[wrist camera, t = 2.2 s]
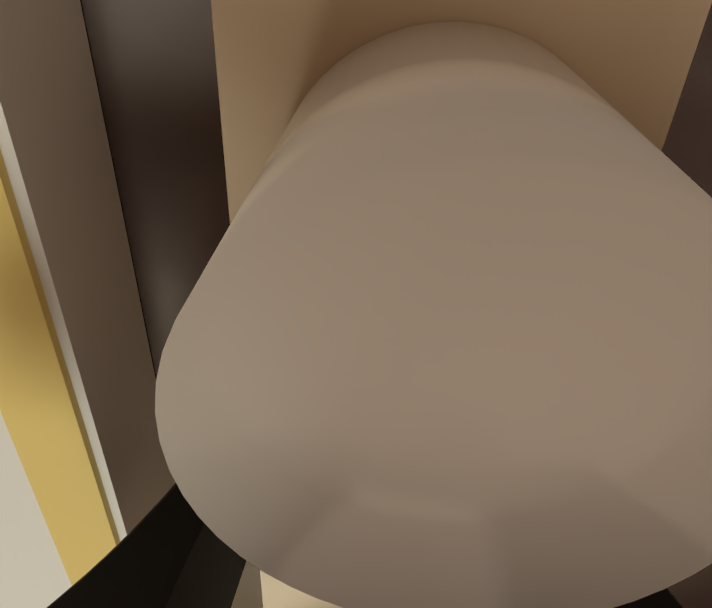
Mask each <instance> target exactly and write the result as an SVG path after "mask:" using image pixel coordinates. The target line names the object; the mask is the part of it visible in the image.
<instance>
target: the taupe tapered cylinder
mask: <svg viewBox="0 0 712 608" xmlns="http://www.w3.org/2000/svg"><path fill="white" fill-rule="evenodd" d="M155 416H156V423H157V429H158V435H159V441H160V445H161V448H162V451H163V454H164V456H165V459H166V462H167V465H168V468H169V470H170V472H171V474H172V476H173V478H174V480H175V482H176V484H177V486H178V487H179V489H180V491H181V493H182V495H183V496H184V497H185V499H186V500H187V502H188V503H189V504H190V506H191V507H192V509H193V510H194V511H195V513H196V514H197V515H198V517H199V518H200V519H201V520H202V521H203V522H204V523H205V524H206V525H207V526H208V527H209V528H210V530H211V531H212V532H213V533H214V534H215V535H216V536H217V537H218V538H219V539H220V540H222V541H223V542H224V543H225V544H226V545H227V546H229V547H230V548H231V549H232V550H233V551H235V552H236V553H237V554H238V555H239V556H241V557H242V558H244V559H245V560H247V561H248V562H249V563H251V564H252V565H254V566H255V567H257V568H258V569H260V570H261V571H263V572H264V573H266V574H268V575H270V576H272V577H273V578H275V579H277V580H279V581H281V582H282V583H284V584H286V585H288V586H290V587H292V588H294V589H296V590H299V591H301V592H303V593H306V594H308V595H310V596H312V597H315V598H317V599H320V600H322V601H325V602H328V603H331V604H334V605H337V606H340V607H343V608H614V607H617V606H620V605H624V604H627V603H630V602H633V601H636V600H638V599H641V598H643V597H646V596H648V595H651V594H653V593H656V592H658V591H661V590H663V589H666V588H668V587H670V586H672V585H674V584H676V583H678V582H680V581H682V580H684V579H686V578H688V577H690V576H692V575H694V574H695V573H697V572H699V571H700V570H702V569H703V568H705V567H707V566H708V565H710V564H711V563H712V198H711V197H710V196H709V195H708V194H707V193H706V192H705V191H704V190H703V189H702V188H701V187H699V186H698V185H697V184H696V183H695V182H694V181H693V180H692V179H691V178H690V177H689V176H688V175H686V174H685V173H684V172H683V171H682V170H681V169H680V168H679V167H678V166H677V165H676V164H674V163H673V162H672V161H671V160H670V159H669V158H668V157H667V156H666V155H665V154H664V153H662V152H661V151H660V150H659V149H658V148H657V147H656V146H655V145H654V144H653V143H652V142H651V141H649V140H648V139H647V138H646V137H645V136H644V135H643V134H642V133H641V132H640V131H639V130H637V129H636V128H635V127H634V126H633V125H632V124H631V123H630V122H629V121H628V120H627V119H625V118H624V117H623V116H622V115H621V114H620V113H619V112H618V111H617V110H616V109H615V108H614V107H612V106H611V105H610V104H609V103H608V102H607V101H606V100H605V99H604V98H603V97H602V96H600V95H599V94H598V93H597V92H596V91H595V90H594V89H593V88H592V87H591V86H590V85H588V84H587V83H586V82H585V81H584V80H583V79H582V78H581V77H580V76H579V75H578V74H576V73H575V72H574V71H573V70H572V69H571V68H570V67H569V66H568V65H566V64H565V63H564V62H563V61H562V60H561V59H559V58H558V57H557V56H556V55H555V54H553V53H552V52H551V51H549V50H547V49H546V48H544V47H542V46H541V45H539V44H538V43H536V42H534V41H533V40H531V39H528V38H526V37H524V36H521V35H519V34H516V33H514V32H512V31H509V30H506V29H502V28H498V27H494V26H490V25H486V24H480V23H470V22H460V21H454V22H432V23H427V24H421V25H416V26H411V27H406V28H403V29H400V30H397V31H394V32H391V33H388V34H385V35H382V36H380V37H378V38H376V39H374V40H372V41H370V42H368V43H366V44H364V45H362V46H360V47H358V48H357V49H355V50H354V51H353V52H351V53H350V54H348V55H347V56H345V57H344V58H342V59H341V60H339V61H338V62H337V63H336V64H335V65H334V66H333V67H332V68H330V69H329V70H328V71H327V72H326V73H325V74H324V75H323V76H322V77H321V78H320V79H319V80H318V81H317V82H316V84H315V85H314V86H313V87H312V88H311V90H310V91H309V92H308V93H307V94H306V96H305V97H304V99H303V100H302V102H301V104H300V105H299V107H298V108H297V110H296V112H295V113H294V115H293V117H292V118H291V120H290V122H289V123H288V125H287V127H286V129H285V130H284V132H283V134H282V136H281V137H280V139H279V141H278V143H277V144H276V146H275V148H274V149H273V151H272V153H271V155H270V156H269V158H268V160H267V162H266V163H265V165H264V167H263V169H262V170H261V172H260V174H259V175H258V177H257V179H256V181H255V182H254V184H253V186H252V188H251V189H250V191H249V193H248V195H247V196H246V198H245V200H244V202H243V203H242V205H241V207H240V208H239V210H238V212H237V214H236V215H235V217H234V219H233V221H232V222H231V224H230V226H229V228H228V229H227V231H226V233H225V234H224V236H223V238H222V240H221V241H220V243H219V245H218V247H217V248H216V250H215V252H214V254H213V255H212V257H211V259H210V260H209V262H208V264H207V266H206V267H205V269H204V271H203V273H202V274H201V276H200V278H199V280H198V281H197V283H196V285H195V286H194V288H193V290H192V292H191V293H190V295H189V297H188V299H187V300H186V302H185V304H184V306H183V307H182V309H181V311H180V312H179V314H178V316H177V318H176V319H175V322H174V324H173V327H172V329H171V332H170V334H169V336H168V339H167V341H166V344H165V346H164V349H163V351H162V355H161V360H160V365H159V369H158V374H157V379H156V390H155Z"/></svg>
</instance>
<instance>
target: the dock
mask: <svg viewBox="0 0 712 608" xmlns="http://www.w3.org/2000/svg"><path fill="white" fill-rule="evenodd" d="M155 390H156V378H155V373H154V368H153V363H152V358H151V353H150V348H149V343H148V338H147V333H146V328H145V323H144V318H143V313H142V308H141V303H140V298H139V293H138V288H137V283H136V278H135V273H134V268H133V263H132V258H131V253H130V248H129V243H128V238H127V233H126V228H125V223H124V218H123V213H122V208H121V203H120V198H119V193H118V188H117V183H116V178H115V173H114V168H113V163H112V158H111V153H110V148H109V143H108V138H107V133H106V128H105V123H104V118H103V113H102V108H101V103H100V98H99V93H98V88H97V83H96V78H95V73H94V68H93V63H92V58H91V53H90V48H89V43H88V38H87V33H86V28H85V23H84V18H83V13H82V8H81V3H80V0H0V608H47V607H48V606H49V605H50V604H51V603H53V602H54V601H55V600H56V599H57V598H58V597H60V596H61V595H62V594H63V593H64V592H65V591H67V590H68V589H69V588H70V587H71V586H73V585H74V584H75V583H76V582H77V581H78V580H80V579H81V578H82V577H83V576H84V575H85V574H86V573H88V572H89V571H90V570H91V569H92V568H93V567H94V566H95V565H96V564H97V563H98V562H100V561H101V560H102V559H103V558H104V557H105V556H106V555H107V554H108V553H109V552H110V551H111V550H112V549H113V548H114V547H115V546H116V545H118V544H119V543H120V542H121V541H122V540H123V539H124V538H125V537H126V536H127V535H128V534H129V533H130V532H131V531H132V530H133V528H134V527H135V526H136V525H137V524H138V523H139V522H140V521H141V520H142V519H143V518H144V517H145V516H146V515H147V514H148V513H149V512H150V511H151V510H152V508H153V507H154V506H155V505H156V504H157V503H158V502H159V501H160V500H161V499H162V498H163V497H164V495H165V494H166V493H167V492H168V491H169V490H170V489H171V487H172V486H173V485H174V484H175V483H176V482H175V480H174V478H173V476H172V474H171V472H170V470H169V468H168V465H167V462H166V459H165V456H164V454H163V451H162V448H161V445H160V441H159V435H158V429H157V423H156V416H155Z"/></svg>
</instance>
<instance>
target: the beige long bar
mask: <svg viewBox="0 0 712 608" xmlns="http://www.w3.org/2000/svg"><path fill="white" fill-rule="evenodd" d="M711 4H712V0H211V11H212V22H213V34H214V45H215V57H216V68H217V80H218V91H219V103H220V114H221V126H222V137H223V149H224V161H225V172H226V184H227V195H228V207H229V218H230V224H231V222H232V221H233V219H234V217H235V215H236V214H237V212H238V210H239V208H240V207H241V205H242V203H243V202H244V200H245V198H246V196H247V195H248V193H249V191H250V189H251V188H252V186H253V184H254V182H255V181H256V179H257V177H258V175H259V174H260V172H261V170H262V169H263V167H264V165H265V163H266V162H267V160H268V158H269V156H270V155H271V153H272V151H273V149H274V148H275V146H276V144H277V143H278V141H279V139H280V137H281V136H282V134H283V132H284V130H285V129H286V127H287V125H288V123H289V122H290V120H291V118H292V117H293V115H294V113H295V112H296V110H297V108H298V107H299V105H300V104H301V102H302V100H303V99H304V97H305V96H306V94H307V93H308V92H309V91H310V90H311V88H312V87H313V86H314V85H315V84H316V82H317V81H318V80H319V79H320V78H321V77H322V76H323V75H324V74H325V73H326V72H327V71H328V70H329V69H330V68H332V67H333V66H334V65H335V64H336V63H337V62H338V61H339V60H341V59H342V58H344V57H345V56H347V55H348V54H350V53H351V52H353V51H354V50H355V49H357V48H358V47H360V46H362V45H364V44H366V43H368V42H370V41H372V40H374V39H376V38H378V37H380V36H382V35H385V34H388V33H391V32H394V31H397V30H400V29H403V28H406V27H411V26H416V25H421V24H427V23H432V22H454V21H460V22H470V23H480V24H486V25H490V26H494V27H498V28H502V29H506V30H509V31H512V32H514V33H516V34H519V35H521V36H524V37H526V38H528V39H531V40H533V41H534V42H536V43H538V44H539V45H541V46H542V47H544V48H546V49H547V50H549V51H551V52H552V53H553V54H555V55H556V56H557V57H558V58H559V59H561V60H562V61H563V62H564V63H565V64H566V65H568V66H569V67H570V68H571V69H572V70H573V71H574V72H575V73H576V74H578V75H579V76H580V77H581V78H582V79H583V80H584V81H585V82H586V83H587V84H588V85H590V86H591V87H592V88H593V89H594V90H595V91H596V92H597V93H598V94H599V95H600V96H602V97H603V98H604V99H605V100H606V101H607V102H608V103H609V104H610V105H611V106H612V107H614V108H615V109H616V110H617V111H618V112H619V113H620V114H621V115H622V116H623V117H624V118H625V119H627V120H628V121H629V122H630V123H631V124H632V125H633V126H634V127H635V128H636V129H637V130H639V131H640V132H641V133H642V134H643V135H644V136H645V137H646V138H647V139H648V140H649V141H651V142H652V143H653V144H654V145H655V146H656V147H657V148H658V149H659V150H660V151H661V152H662V149H663V146H664V143H665V140H666V137H667V134H668V131H669V128H670V125H671V122H672V119H673V116H674V113H675V110H676V107H677V104H678V101H679V98H680V95H681V92H682V89H683V87H684V84H685V81H686V78H687V75H688V72H689V69H690V66H691V63H692V60H693V57H694V54H695V51H696V48H697V45H698V42H699V39H700V36H701V33H702V30H703V27H704V24H705V21H706V18H707V15H708V12H709V10H710V7H711ZM260 575H261V587H262V598H263V608H343V607H340V606H337V605H334V604H331V603H328V602H325V601H322V600H320V599H317V598H315V597H312V596H310V595H308V594H306V593H303V592H301V591H299V590H296V589H294V588H292V587H290V586H288V585H286V584H284V583H282V582H281V581H279V580H277V579H275V578H273V577H272V576H270V575H268V574H266V573H264V572H263V571H261V570H260Z"/></svg>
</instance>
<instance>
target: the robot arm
mask: <svg viewBox="0 0 712 608" xmlns="http://www.w3.org/2000/svg"><path fill="white" fill-rule="evenodd" d="M245 563H246V560H245V559H244V558H242V557H241V556H239V555H238V554H237V553H236V552H235V551H233V550H232V549H231V548H230V547H229V546H227V545H226V544H225V543H224V542H223V541H222V540H220V539H219V538H218V537H217V536H216V535H215V534H214V533H213V532H212V531H211V530H210V528H209V527H208V526H207V525H206V524H205V523H204V522H203V521H202V520H201V519H200V518H199V517H198V515H197V514H196V513H195V511H194V510H193V509H192V507H191V506H190V504H189V503H188V502H187V500H186V499H185V497H184V496H183V495H182V493H181V491H180V489H179V487H178V486H177V484H176V483H175V484H174V485H173V486H172V487H171V489H170V490H169V491H168V492H167V493H166V494H165V495H164V497H163V498H162V499H161V500H160V501H159V502H158V503H157V504H156V505H155V506H154V507H153V508H152V510H151V511H150V512H149V513H148V514H147V515H146V516H145V517H144V518H143V519H142V520H141V521H140V522H139V523H138V524H137V525H136V526H135V527H134V528H133V530H132V531H131V532H130V533H129V534H128V535H127V536H126V537H125V538H124V539H123V540H122V541H121V542H120V543H119V544H118V545H116V546H115V547H114V548H113V549H112V550H111V551H110V552H109V553H108V554H107V555H106V556H105V557H104V558H103V559H102V560H101V561H100V562H98V563H97V564H96V565H95V566H94V567H93V568H92V569H91V570H90V571H89V572H88V573H86V574H85V575H84V576H83V577H82V578H81V579H80V580H78V581H77V582H76V583H75V584H74V585H73V586H71V587H70V588H69V589H68V590H67V591H65V592H64V593H63V594H62V595H61V596H60V597H58V598H57V599H56V600H55V601H54V602H53V603H51V604H50V605H49V606H48V607H47V608H231V605H232V602H233V599H234V596H235V593H236V590H237V587H238V584H239V581H240V578H241V575H242V572H243V569H244V566H245ZM614 608H683V607H682V606H681V605H680V604H679V603H678V601H677V600H676V599H675V598H674V597H673V595H672V594H671V593H670V592H669V590H668V589H667V588H666V589H663V590H661V591H658V592H656V593H653V594H651V595H648V596H646V597H643V598H641V599H638V600H636V601H633V602H630V603H627V604H624V605H620V606H617V607H614Z"/></svg>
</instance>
